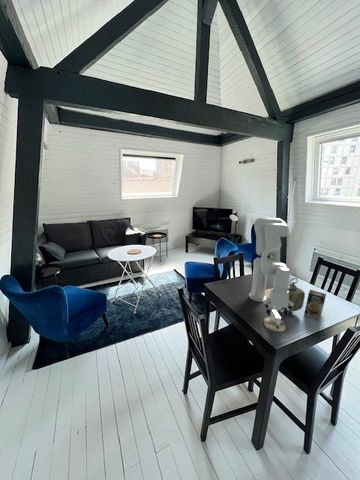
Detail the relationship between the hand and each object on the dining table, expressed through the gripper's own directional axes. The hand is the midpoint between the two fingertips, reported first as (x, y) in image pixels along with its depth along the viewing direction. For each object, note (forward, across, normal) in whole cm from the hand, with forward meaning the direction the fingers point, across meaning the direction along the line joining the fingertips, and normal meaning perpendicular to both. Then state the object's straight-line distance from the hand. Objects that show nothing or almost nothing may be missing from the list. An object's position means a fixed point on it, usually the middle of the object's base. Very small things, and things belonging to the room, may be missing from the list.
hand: (276, 314), depth 122 cm
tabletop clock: (+7, -14, -15) cm, 22 cm away
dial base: (+8, 0, -1) cm, 8 cm away
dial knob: (+6, 0, 0) cm, 6 cm away
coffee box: (+8, -29, -14) cm, 33 cm away
